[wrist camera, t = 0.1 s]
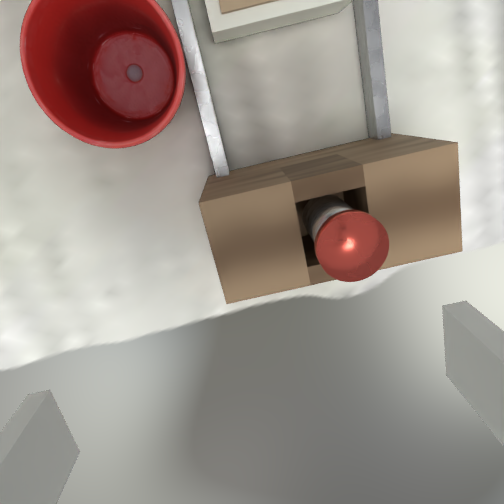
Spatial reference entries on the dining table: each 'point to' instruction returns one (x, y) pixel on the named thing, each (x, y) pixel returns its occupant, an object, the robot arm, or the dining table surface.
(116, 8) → the flower pot
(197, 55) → the rail channel
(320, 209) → the cylinder
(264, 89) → the dining table surface
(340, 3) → the block
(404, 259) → the end cabinet
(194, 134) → the dining table surface
